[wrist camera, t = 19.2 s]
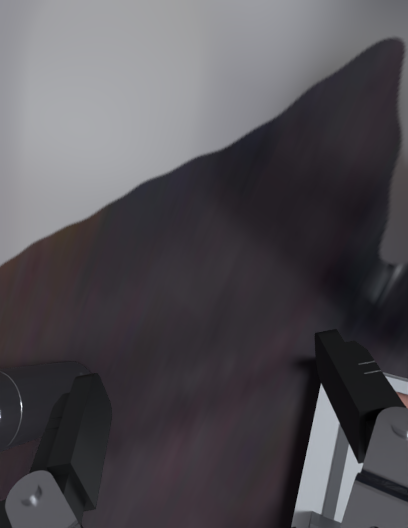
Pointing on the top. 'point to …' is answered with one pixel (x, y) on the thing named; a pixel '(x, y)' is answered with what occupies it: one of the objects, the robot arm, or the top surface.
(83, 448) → the robot arm
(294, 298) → the top surface
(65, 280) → the top surface
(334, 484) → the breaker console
